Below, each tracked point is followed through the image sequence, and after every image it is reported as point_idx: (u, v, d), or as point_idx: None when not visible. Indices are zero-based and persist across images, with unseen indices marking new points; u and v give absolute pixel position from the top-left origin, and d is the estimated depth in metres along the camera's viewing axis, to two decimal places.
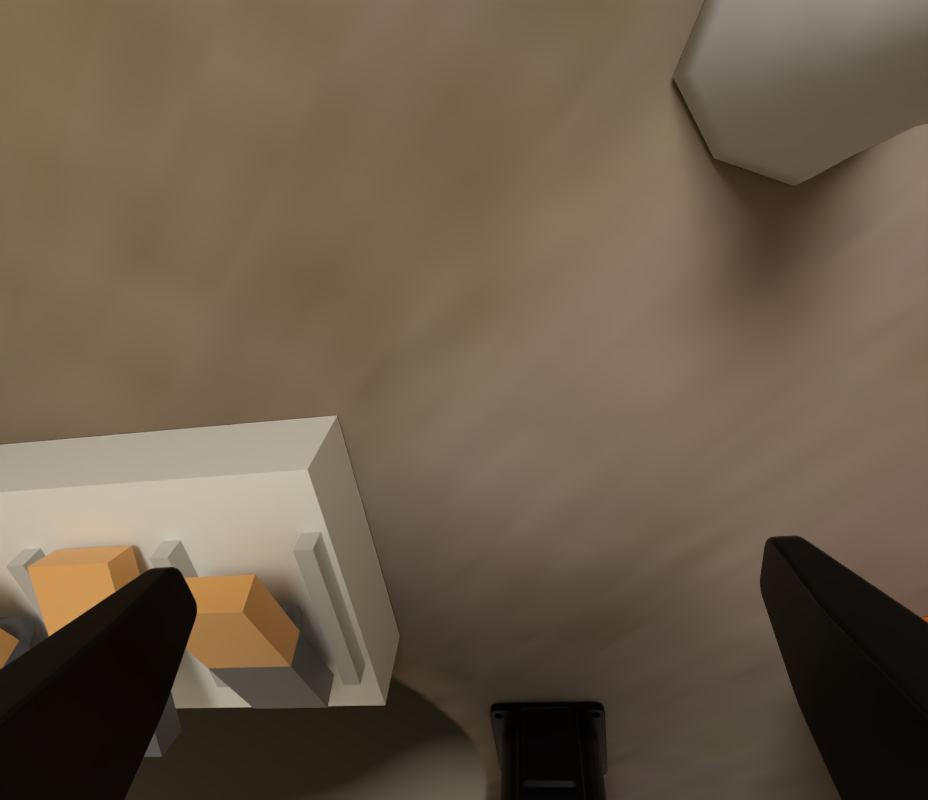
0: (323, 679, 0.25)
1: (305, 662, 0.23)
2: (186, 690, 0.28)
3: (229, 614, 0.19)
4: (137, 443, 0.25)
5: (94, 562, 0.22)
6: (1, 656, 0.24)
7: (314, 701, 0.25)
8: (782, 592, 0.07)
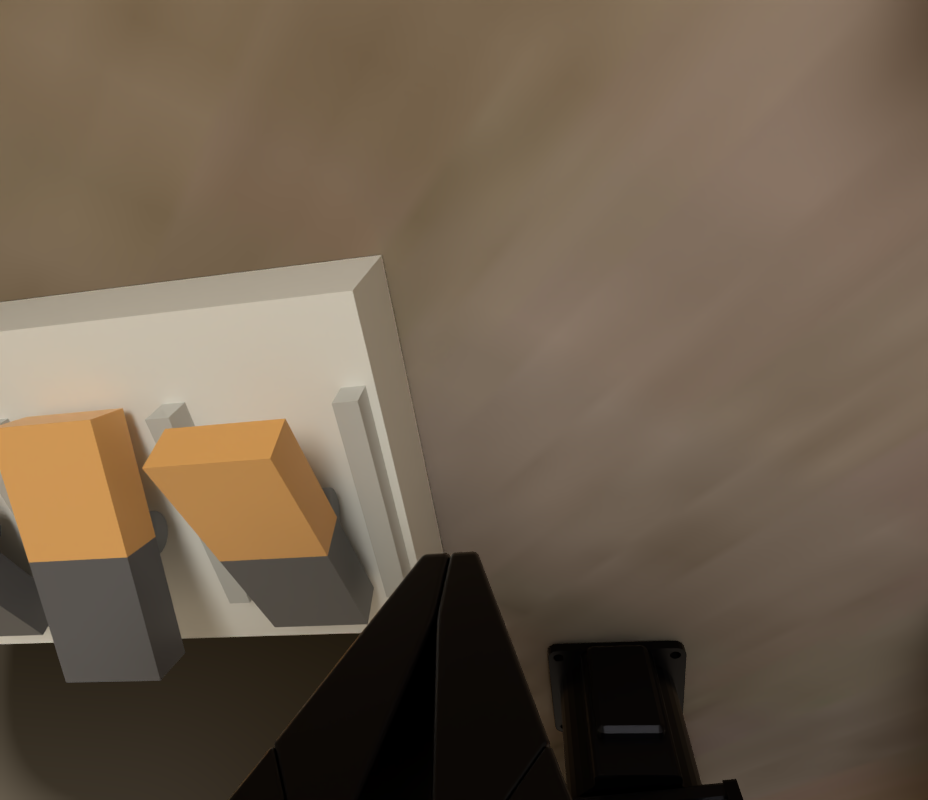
0: (362, 587, 0.20)
1: (343, 558, 0.18)
2: (190, 614, 0.23)
3: (252, 463, 0.14)
4: (131, 292, 0.20)
5: (73, 420, 0.17)
6: None
7: (351, 615, 0.20)
8: None
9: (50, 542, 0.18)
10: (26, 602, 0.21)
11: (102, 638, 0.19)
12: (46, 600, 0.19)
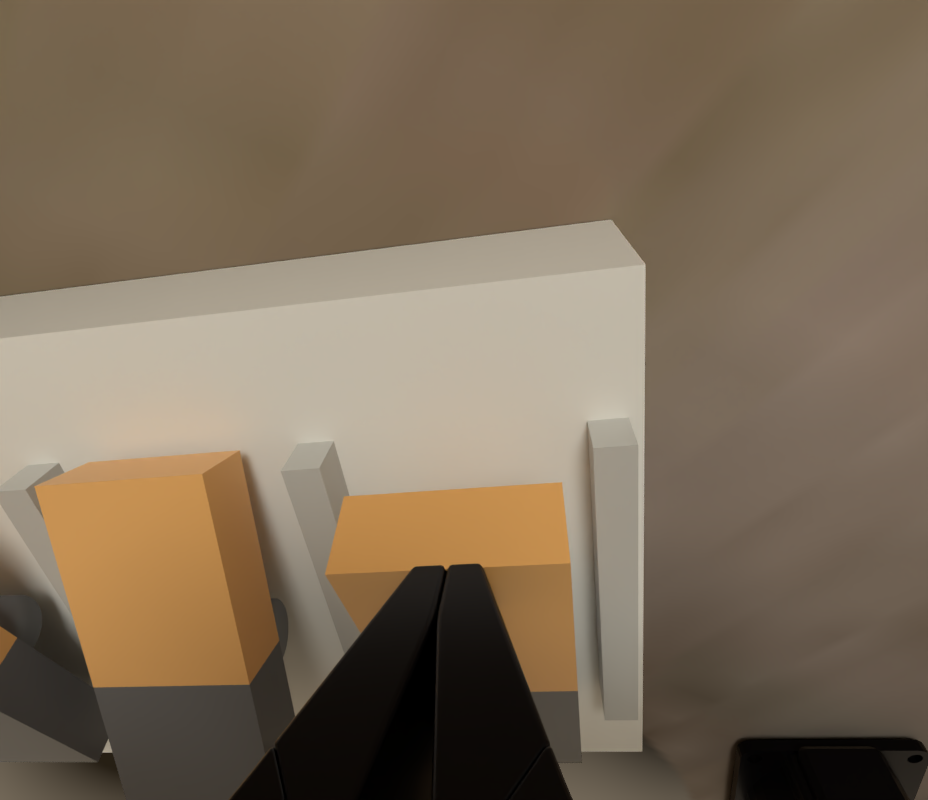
0: None
1: None
2: None
3: (532, 569, 0.08)
4: (237, 275, 0.14)
5: (173, 474, 0.11)
6: None
7: (564, 754, 0.13)
8: None
9: (129, 659, 0.12)
10: (76, 719, 0.15)
11: (203, 799, 0.12)
12: (118, 743, 0.12)
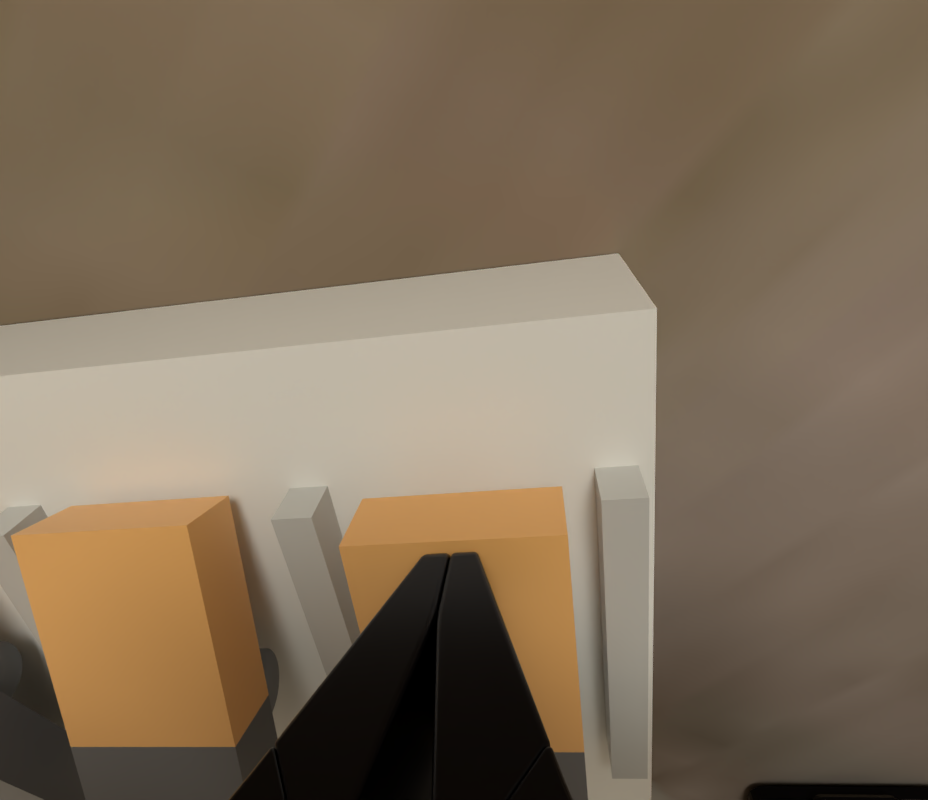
0: None
1: None
2: None
3: (532, 542, 0.08)
4: (230, 309, 0.13)
5: (157, 525, 0.10)
6: None
7: None
8: None
9: (108, 718, 0.11)
10: (56, 771, 0.14)
11: None
12: None
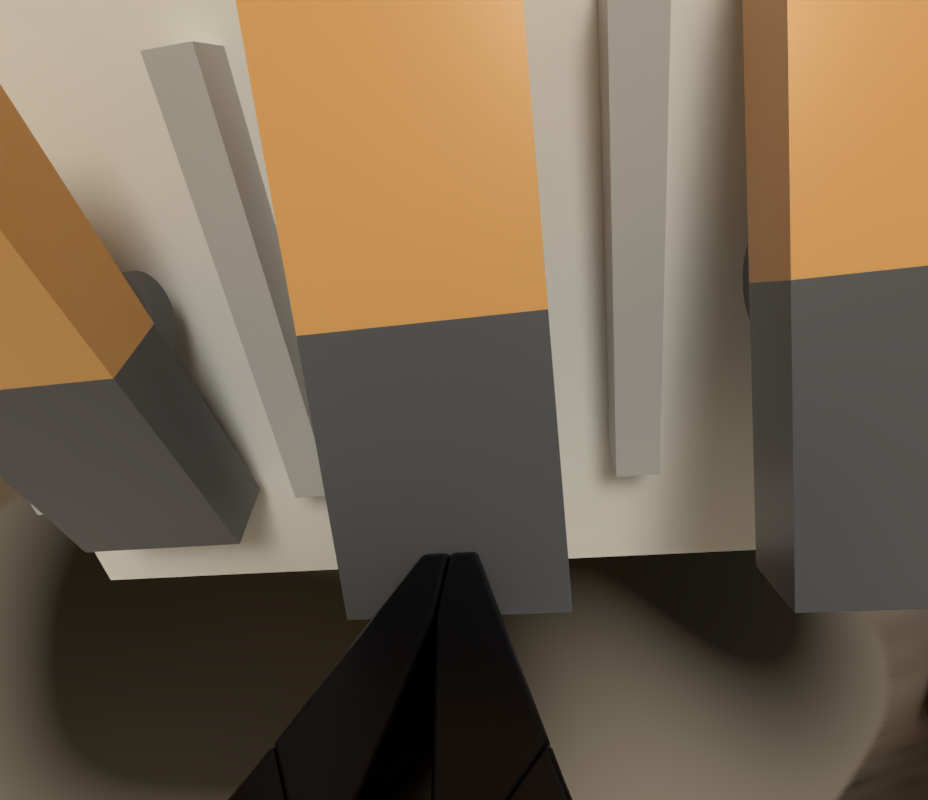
0: None
1: None
2: None
3: None
4: None
5: None
6: (117, 337, 0.09)
7: None
8: None
9: (358, 280, 0.08)
10: (217, 476, 0.11)
11: (449, 516, 0.08)
12: (328, 428, 0.08)
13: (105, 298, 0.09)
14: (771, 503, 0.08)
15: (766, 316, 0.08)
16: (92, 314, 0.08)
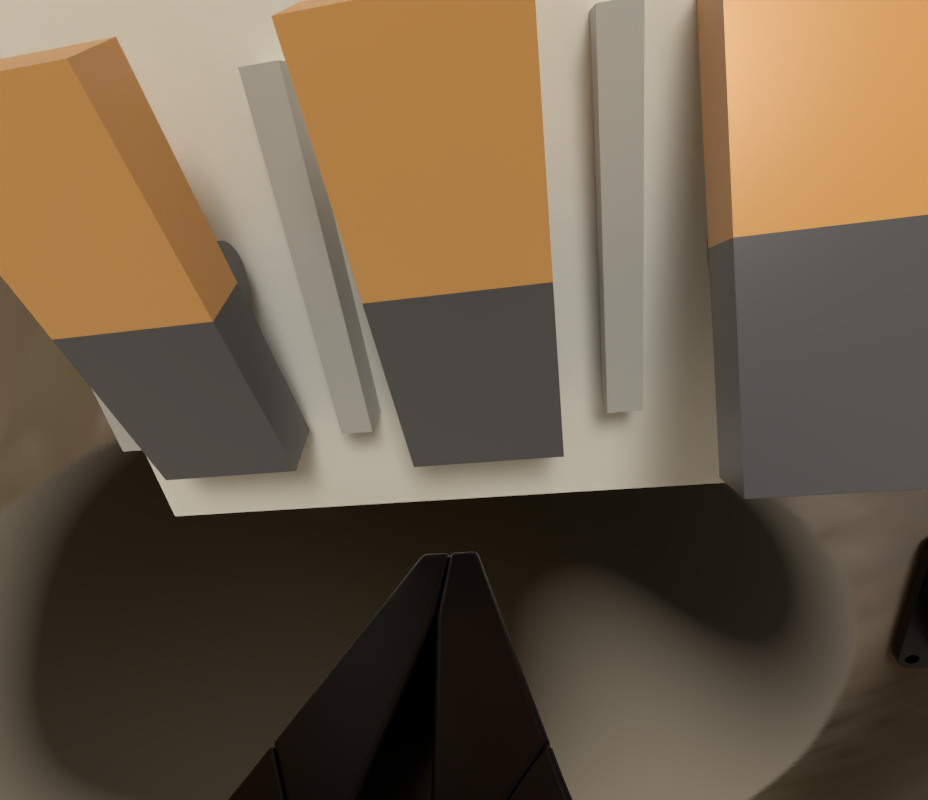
0: None
1: None
2: None
3: None
4: None
5: None
6: (215, 290, 0.11)
7: None
8: None
9: (407, 265, 0.10)
10: (280, 412, 0.13)
11: (481, 409, 0.12)
12: (392, 361, 0.11)
13: (206, 259, 0.11)
14: (727, 419, 0.11)
15: (719, 270, 0.10)
16: (199, 270, 0.11)
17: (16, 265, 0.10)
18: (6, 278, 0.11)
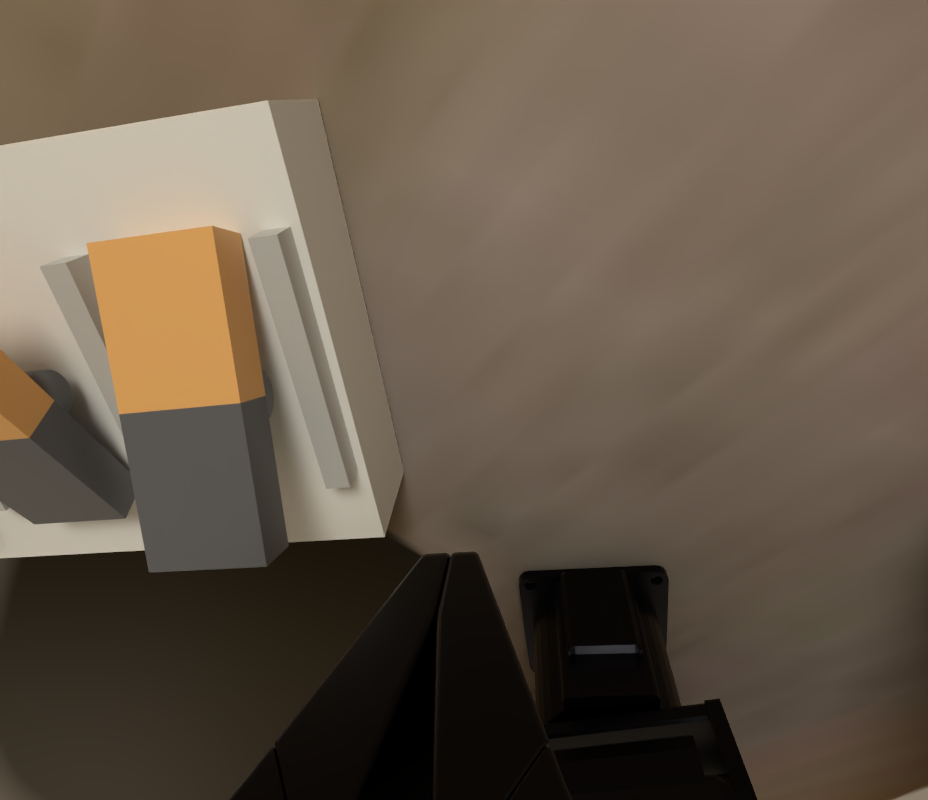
0: (273, 515, 0.16)
1: (259, 442, 0.16)
2: (118, 522, 0.21)
3: (193, 232, 0.14)
4: None
5: None
6: None
7: (249, 542, 0.15)
8: None
9: None
10: None
11: (47, 495, 0.18)
12: None
13: None
14: None
15: None
16: None
17: None
18: None
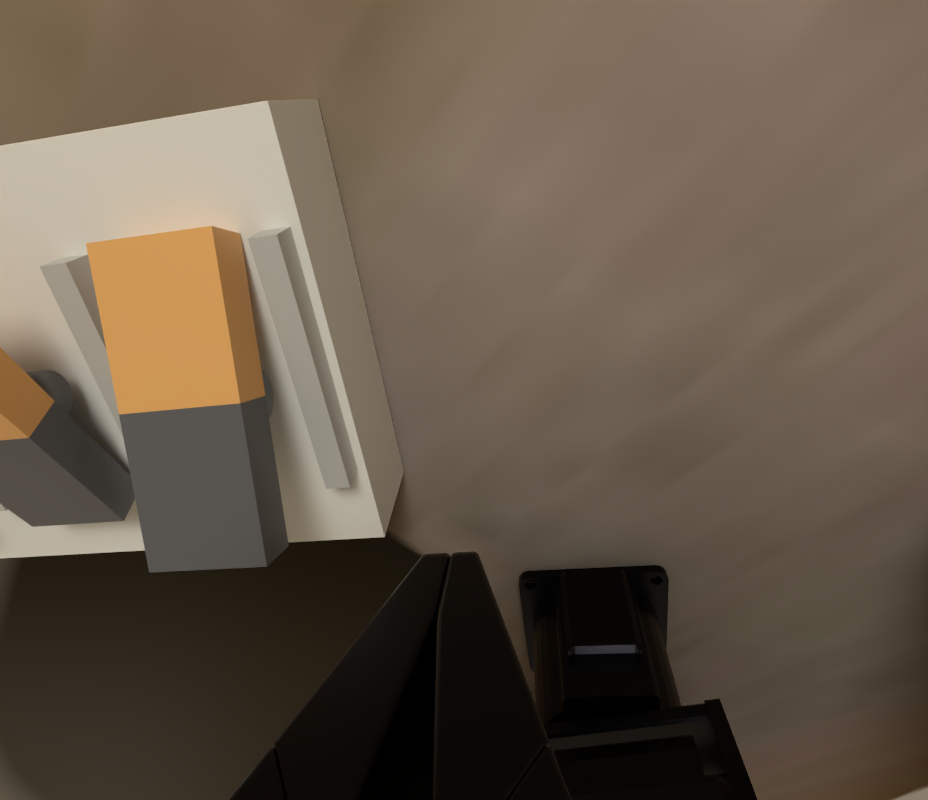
0: (273, 515, 0.16)
1: (259, 443, 0.16)
2: (118, 522, 0.21)
3: (193, 232, 0.14)
4: None
5: None
6: None
7: (249, 542, 0.15)
8: None
9: None
10: None
11: (46, 497, 0.18)
12: None
13: None
14: None
15: None
16: None
17: None
18: None
